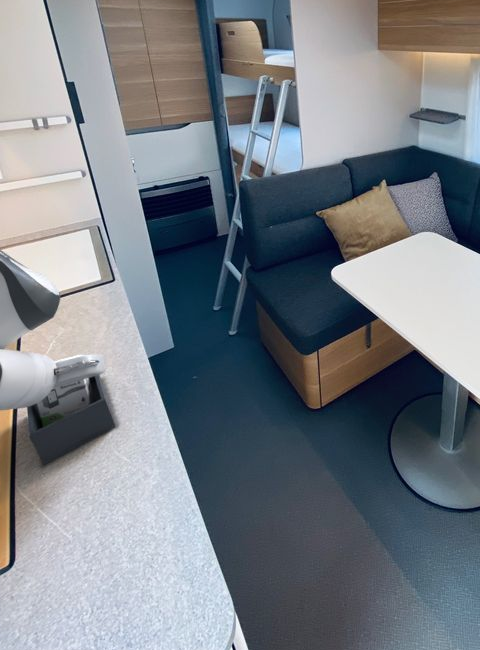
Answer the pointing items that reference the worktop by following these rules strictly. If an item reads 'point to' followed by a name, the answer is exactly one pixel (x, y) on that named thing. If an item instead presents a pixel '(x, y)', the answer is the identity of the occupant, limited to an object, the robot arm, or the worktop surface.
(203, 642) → the worktop surface
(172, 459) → the worktop surface
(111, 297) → the worktop surface
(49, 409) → the ink box
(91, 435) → the bin
